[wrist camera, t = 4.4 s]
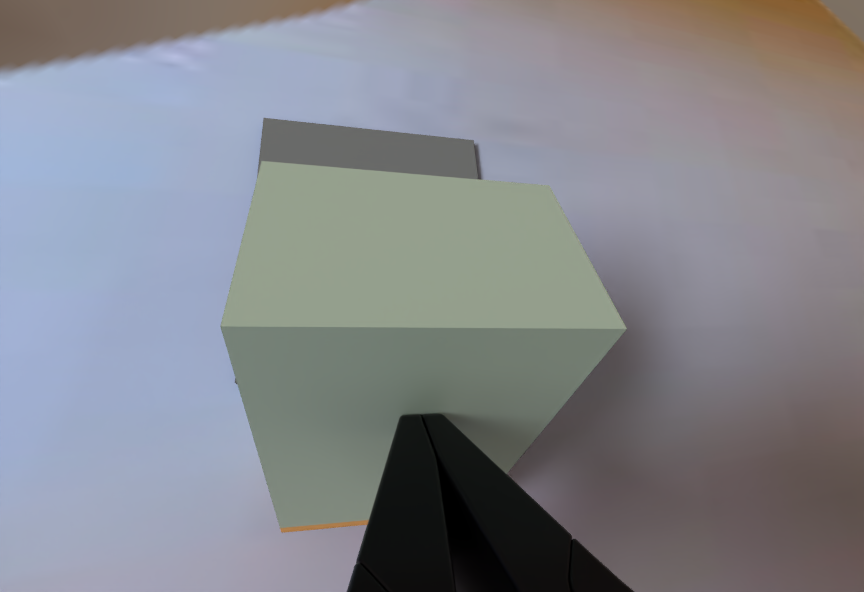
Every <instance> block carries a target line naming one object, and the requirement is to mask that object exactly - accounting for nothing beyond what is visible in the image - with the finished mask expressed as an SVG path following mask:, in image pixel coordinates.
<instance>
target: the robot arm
mask: <svg viewBox="0 0 864 592" xmlns="http://www.w3.org/2000/svg"><path fill="white" fill-rule="evenodd" d="M347 592H634V591H633V590H632V589H630V588H629V587H628V586H627V585H626V584H624V583H623V582H622V581H621V580H620V579H619V578H618V577H617V576H615V575H614V574H613V573H612V572H611V571H610V570H609V569H608V568H607V567H605V566H604V565H603V564H602V563H601V562H600V561H599V560H598V559H597V558H595V557H594V556H593V555H592V554H591V553H590V552H589V551H588V550H587V549H586V548H585V547H584V546H583V545H582V544H581V543H579V542H578V541H577V540H576V539H572V536H571V534H570V533H569V532H568V531H566V530H565V529H564V528H563V527H562V526H561V525H560V524H559V523H558V522H557V521H556V520H555V519H554V518H553V517H552V516H551V515H549V514H548V513H547V512H546V511H545V510H544V509H543V508H542V507H541V506H540V505H539V504H538V503H537V502H536V501H535V500H534V499H532V498H531V497H530V496H529V495H528V494H527V493H526V492H525V491H524V490H523V489H522V488H521V487H520V486H519V485H518V484H517V483H515V482H514V481H513V480H512V479H511V478H510V477H509V476H508V475H507V474H506V473H505V472H504V471H503V470H502V469H501V468H500V467H498V466H497V465H496V464H495V463H494V462H493V461H492V460H491V459H490V458H489V457H488V456H487V455H486V454H485V453H484V452H483V451H481V450H480V449H479V448H478V447H477V446H476V445H475V444H474V443H473V442H472V441H471V440H470V439H469V438H468V437H467V436H466V435H464V434H463V433H462V432H461V431H460V430H459V429H458V428H457V427H456V426H455V425H454V424H453V423H452V422H451V421H450V420H449V419H447V418H446V417H445V416H444V415H443V414H439V413H438V414H424V415H422V416H420V415H418V414H413V415H401V416H400V418H399V420H398V424H397V427H396V430H395V434H394V437H393V440H392V444H391V447H390V451H389V454H388V457H387V461H386V464H385V467H384V471H383V474H382V477H381V481H380V484H379V487H378V491H377V494H376V497H375V501H374V504H373V507H372V511H371V514H370V517H369V521H368V524H367V527H366V531H365V534H364V537H363V541H362V544H361V547H360V551H359V554H358V557H357V561H356V565H355V566H354V570H353V573H352V576H351V580H350V583H349V586H348V590H347Z"/></svg>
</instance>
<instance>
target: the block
mask: <svg viewBox="0 0 864 592" xmlns="http://www.w3.org/2000/svg"><path fill="white" fill-rule="evenodd" d="M220 327H221V330H222V333H223V337H224V340H225V343H226V347H227V350H228V354H229V357H230V360H231V364H232V367H233V370H234V374H235V377H236V381H237V384H238V387H239V391H240V394H241V397H242V401H243V404H244V408H245V411H246V414H247V418H248V421H249V424H250V428H251V431H252V435H253V438H254V441H255V445H256V448H257V451H258V455H259V458H260V462H261V465H262V468H263V472H264V475H265V478H266V482H267V485H268V489H269V492H270V495H271V499H272V502H273V505H274V509H275V512H276V516H277V519H278V522H279V526H280V529H281V532H282V533H283V532H293V531H304V530H315V529H325V528H336V527H346V526H357V525H367V524H368V521H369V517H370V514H371V511H372V507H373V504H374V501H375V497H376V494H377V491H378V487H379V484H380V481H381V477H382V474H383V471H384V467H385V464H386V461H387V457H388V454H389V451H390V447H391V444H392V440H393V437H394V434H395V430H396V427H397V424H398V420H399V418H400V416H401V415H413V414H418V415H420V416H422V415H424V414H438V413H439V414H443V415H444V416H445V417H446V418H447V419H449V420H450V421H451V422H452V423H453V424H454V425H455V426H456V427H457V428H458V429H459V430H460V431H461V432H462V433H463V434H464V435H466V436H467V437H468V438H469V439H470V440H471V441H472V442H473V443H474V444H475V445H476V446H477V447H478V448H479V449H480V450H481V451H483V452H484V453H485V454H486V455H487V456H488V457H489V458H490V459H491V460H492V461H493V462H494V463H495V464H496V465H497V466H498V467H500V468H501V469H502V470H503V471H504V472H505V473H506V474H507V473H508V472H509V471H510V469H511V468H512V467H513V466H514V465H515V463H516V462H517V461H518V460H519V458H520V457H521V456H522V455H523V454H524V452H525V451H526V450H527V449H528V448H529V446H530V445H531V444H532V443H533V442H534V440H535V439H536V438H537V437H538V436H539V434H540V433H541V432H542V431H543V430H544V428H545V427H546V426H547V425H548V423H549V422H550V421H551V420H552V419H553V417H554V416H555V415H556V414H557V413H558V411H559V410H560V409H561V408H562V407H563V405H564V404H565V403H566V402H567V401H568V399H569V398H570V397H571V396H572V395H573V393H574V392H575V391H576V390H577V388H578V387H579V386H580V385H581V384H582V382H583V381H584V380H585V379H586V378H587V376H588V375H589V374H590V373H591V372H592V370H593V369H594V368H595V367H596V366H597V364H598V363H599V362H600V361H601V360H602V358H603V357H604V356H605V355H606V353H607V352H608V351H609V350H610V349H611V347H612V346H613V345H614V344H615V343H616V341H617V340H618V339H619V338H620V337H621V335H622V334H623V333H624V332H625V331H626V329H627V328H626V326H625V324H624V323H623V321H622V319H621V317H620V315H619V313H618V312H617V310H616V308H615V306H614V304H613V302H612V301H611V299H610V297H609V295H608V293H607V291H606V289H605V288H604V286H603V284H602V282H601V280H600V278H599V277H598V275H597V273H596V271H595V269H594V267H593V265H592V264H591V262H590V260H589V258H588V256H587V254H586V253H585V251H584V249H583V247H582V245H581V243H580V241H579V240H578V238H577V236H576V234H575V232H574V230H573V229H572V227H571V225H570V223H569V221H568V219H567V217H566V216H565V214H564V212H563V210H562V208H561V206H560V205H559V203H558V201H557V199H556V197H555V195H554V193H553V192H552V190H551V188H550V186H548V185H536V184H524V183H513V182H501V181H489V180H478V179H466V178H455V177H443V176H431V175H420V174H408V173H396V172H385V171H373V170H362V169H350V168H338V167H327V166H315V165H303V164H292V163H280V162H269V161H261V165H260V170H259V174H258V178H257V182H256V186H255V190H254V194H253V198H252V202H251V206H250V210H249V214H248V218H247V222H246V226H245V230H244V234H243V238H242V242H241V246H240V250H239V254H238V258H237V262H236V266H235V270H234V274H233V278H232V282H231V286H230V290H229V294H228V298H227V302H226V306H225V310H224V314H223V318H222V322H221V326H220Z"/></svg>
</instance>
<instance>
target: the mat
mask: <svg viewBox="0 0 864 592" xmlns="http://www.w3.org/2000/svg"><path fill="white" fill-rule="evenodd" d="M261 161H269V162H280V163H292V164H303V165H315V166H327V167H338V168H350V169H362V170H373V171H385V172H396V173H408V174H420V175H431V176H443V177H455V178H466V179H478V173H477V165H476V157H475V149H474V140H465V139H455V138H446V137H437V136H427V135H418V134H409V133H399V132H390V131H381V130H371V129H362V128H353V127H343V126H334V125H325V124H315V123H306V122H297V121H287V120H278V119H269V118H264V120H263V129H262V139H261V148H260V157H259V166H258V174H259V170H260V165H261ZM257 178H258V175H257ZM235 383H236V384H237V381H236V378H235Z"/></svg>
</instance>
